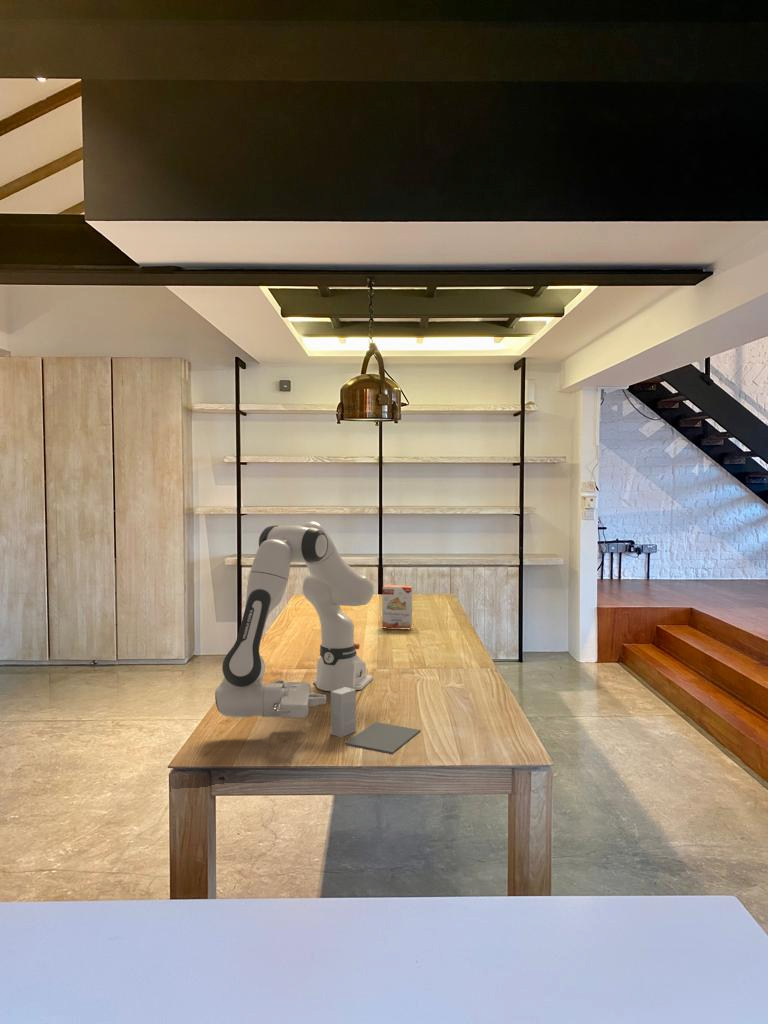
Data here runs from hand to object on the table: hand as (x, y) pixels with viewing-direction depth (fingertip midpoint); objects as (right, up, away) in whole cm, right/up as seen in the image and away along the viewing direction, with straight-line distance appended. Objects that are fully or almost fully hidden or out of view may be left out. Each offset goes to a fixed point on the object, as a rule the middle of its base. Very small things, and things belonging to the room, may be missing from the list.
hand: (326, 699), depth 187 cm
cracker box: (+22, -5, +142) cm, 144 cm away
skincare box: (+5, -10, +1) cm, 11 cm away
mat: (+16, -10, -3) cm, 19 cm away
